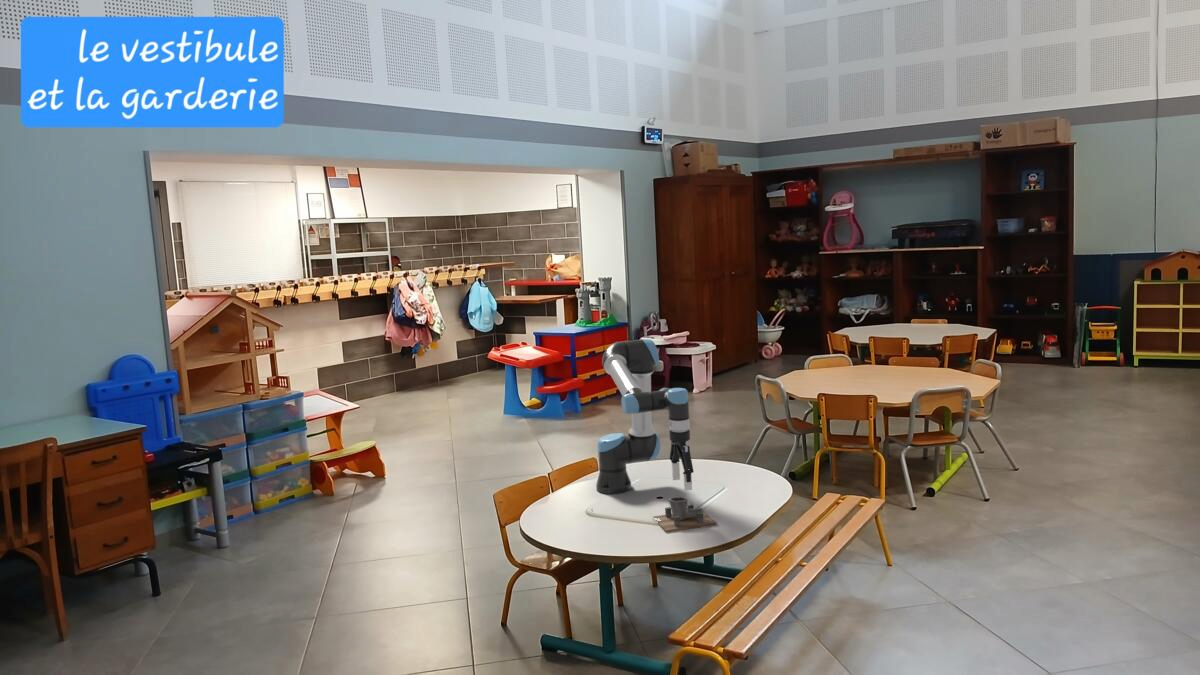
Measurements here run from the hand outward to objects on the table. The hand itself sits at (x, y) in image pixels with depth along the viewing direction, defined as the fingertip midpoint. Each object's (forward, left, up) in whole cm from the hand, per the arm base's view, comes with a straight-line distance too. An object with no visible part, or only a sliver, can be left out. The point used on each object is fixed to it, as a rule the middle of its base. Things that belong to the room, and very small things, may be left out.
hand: (682, 484), depth 323 cm
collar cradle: (0, 0, -15) cm, 15 cm away
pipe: (0, +1, -14) cm, 14 cm away
